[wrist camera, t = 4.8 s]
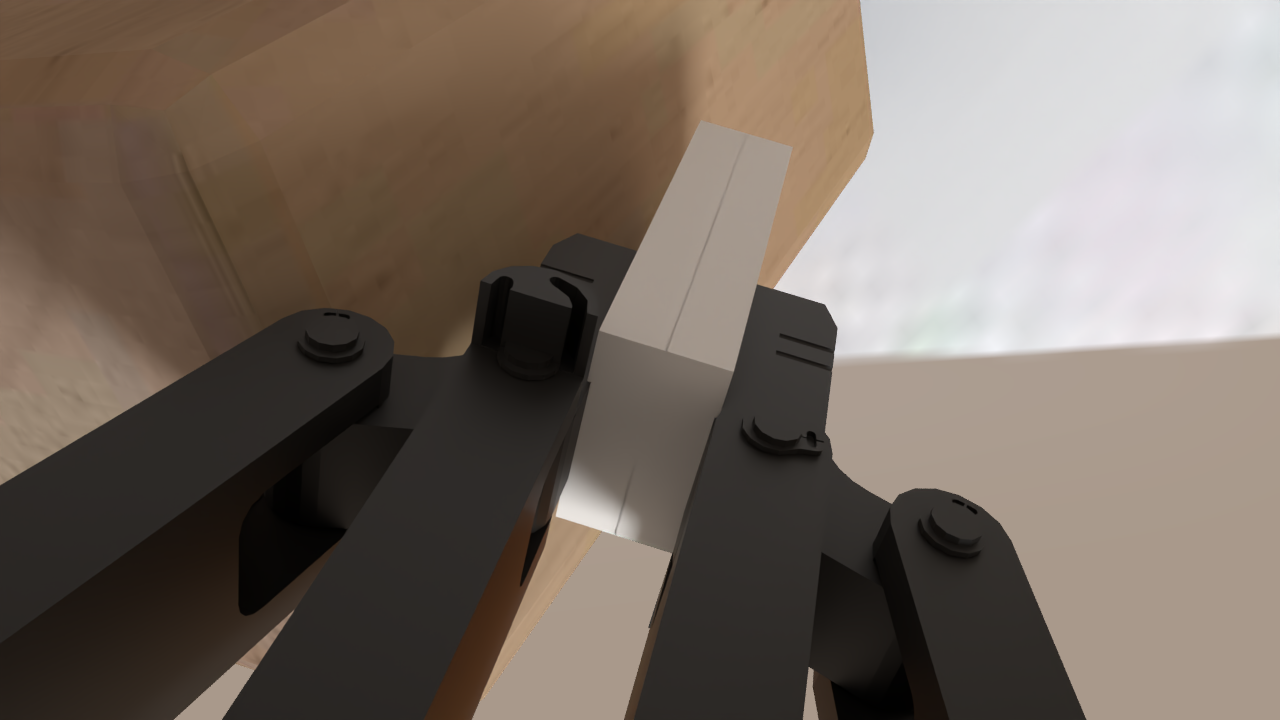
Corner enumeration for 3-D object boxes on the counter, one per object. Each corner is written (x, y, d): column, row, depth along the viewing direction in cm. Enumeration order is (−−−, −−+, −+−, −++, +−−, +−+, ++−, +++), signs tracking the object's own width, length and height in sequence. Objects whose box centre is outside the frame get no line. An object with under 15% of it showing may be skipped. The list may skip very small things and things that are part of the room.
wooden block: (480, -200, 29) (-337, 108, 15) (846, -272, 24) (138, 84, 10) (573, 152, 34) (37, 622, 20) (888, 152, 29) (466, 773, 15)
